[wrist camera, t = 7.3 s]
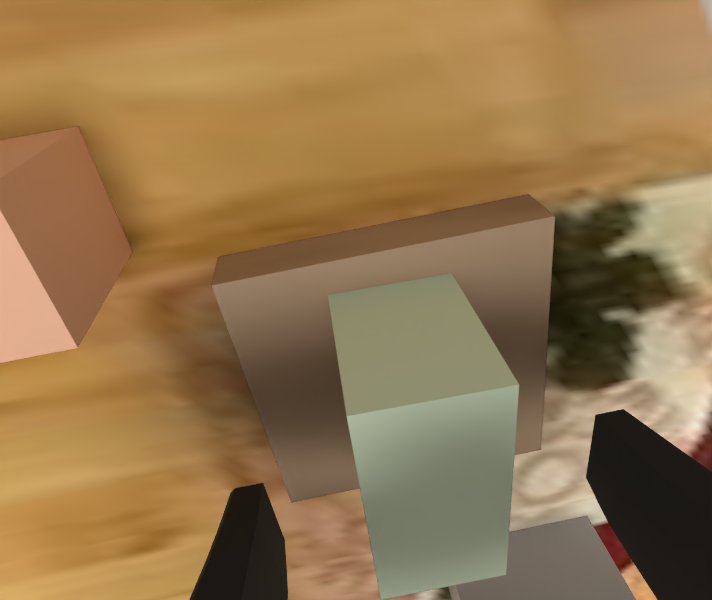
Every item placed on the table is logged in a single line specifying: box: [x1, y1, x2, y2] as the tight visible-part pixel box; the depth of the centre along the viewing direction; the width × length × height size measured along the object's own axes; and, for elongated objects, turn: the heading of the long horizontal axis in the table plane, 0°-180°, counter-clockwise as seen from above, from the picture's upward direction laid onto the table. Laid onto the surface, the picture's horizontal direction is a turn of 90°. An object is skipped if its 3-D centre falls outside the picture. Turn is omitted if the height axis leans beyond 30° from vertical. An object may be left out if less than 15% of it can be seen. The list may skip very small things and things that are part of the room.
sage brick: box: [328, 273, 519, 600], centre depth 12 cm, size 6×3×4 cm, turn 7°
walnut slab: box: [211, 194, 555, 503], centre depth 14 cm, size 8×8×2 cm
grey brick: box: [448, 516, 636, 600], centre depth 20 cm, size 6×3×4 cm, turn 98°
